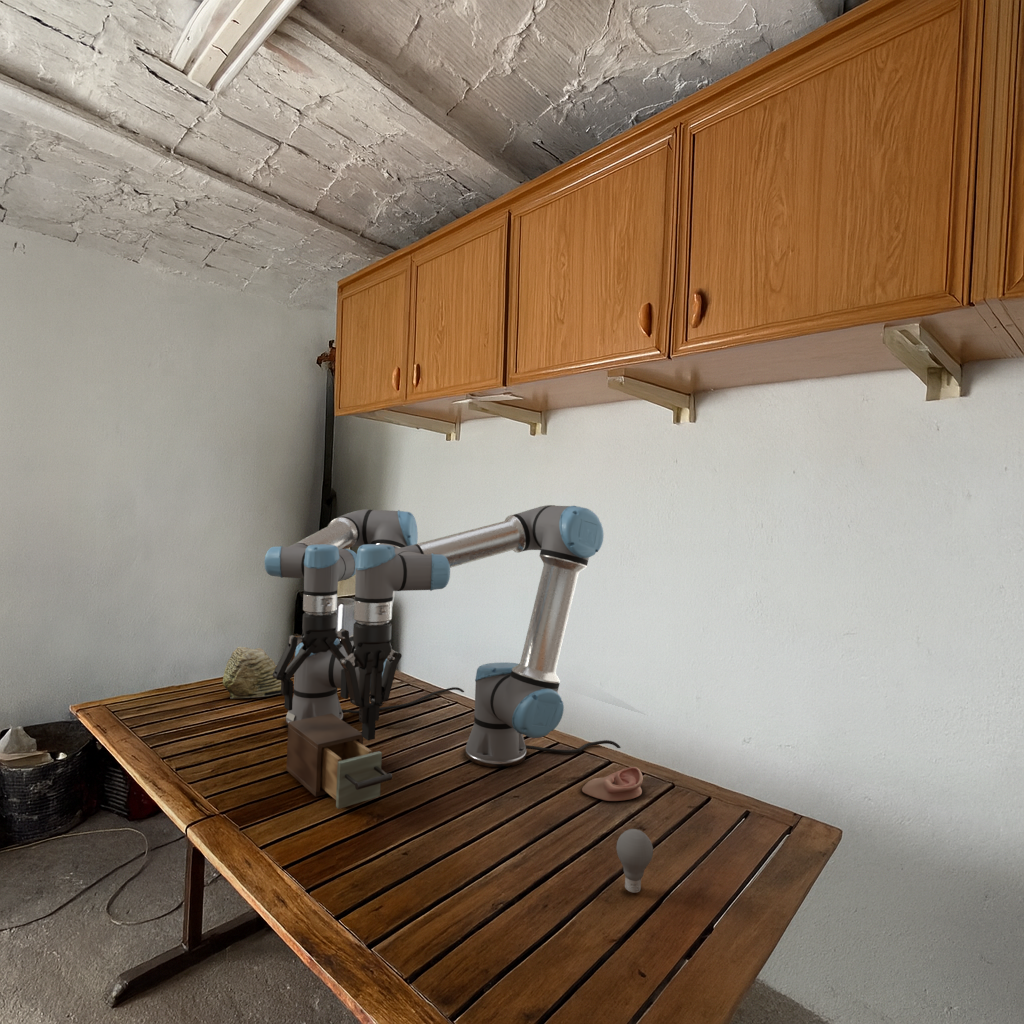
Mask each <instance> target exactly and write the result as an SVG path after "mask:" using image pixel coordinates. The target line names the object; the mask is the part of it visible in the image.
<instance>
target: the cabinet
mask: <svg viewBox="0 0 1024 1024" xmlns="http://www.w3.org/2000/svg"><path fill="white" fill-rule="evenodd" d="M353 740H356V741H358V742H359V743H361V744H362V745H364V737H362V731H360V730H359V729H356V728H355V727H353V726H352V725H350V724H349V723H348V722H346V721H344V720H343V721H342V720H341V719H339V718H338V717H336V716H335V715H333V714H327V715H322V716H317V717H312V718H307V719H302V720H297V721H292V722H288V727H287V743H286V744H287V745H286V747H287V748H286V771H287V773H289V774H290V776H292V777H293V778H294V779H295V780H296V781H298V783H300V785H302V786H303V787H304V788H305V789H307V791H308V792H310V793H311V795H313V796H314V797H316V798H318V797H320V796H325V795H327V794H328V793H327V792H326V791H325V790H323V789H322V788H321V787H320V781H321V756H322V748H323V747H327V746H332V745H336V744H340V743H344V742H348V741H353ZM328 795H329V794H328Z"/></svg>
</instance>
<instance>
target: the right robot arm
mask: <svg viewBox="0 0 1024 1024" xmlns="http://www.w3.org/2000/svg"><path fill="white" fill-rule="evenodd" d="M604 535H605V533H604V527H603V524H602V522H601V521H600V517H599V516H598V515H597V514H596V512H594V511H593V510H591V509H589V508H587V507H582V506H577V505H554V504H546V505H541V506H537V507H534V508H531V509H528V510H525V511H521V512H518V513H515V514H510V515H508V516H506V517H505V519H504V520H503V521H500V522H496V523H491V524H488V525H484V526H481V527H477V528H473V529H468V530H465V531H461V532H457V533H453V534H449V535H446V536H441V537H438V538H433V539H429V540H426V541H422V542H419V543H418V542H417V544H415V545H410V546H406V547H402V548H398V547H393V546H391V545H382V544H380V545H379V544H366V545H362V546H358V548H357V551H356V554H357V557H356V566H355V569H356V574H355V575H354V576H355V583H354V584H355V585H354V587H355V588H354V606H353V610H354V611H353V619H354V623H353V629H352V635H353V642H354V645H353V648H352V649H351V654H350V655H349V656H347V657H346V658H341V659H340V664H341V665H342V667H343V668H344V671H345V677H346V682H347V687H348V692H349V701H350V703H351V704H352V705H354V706H356V707H358V710H359V713H358V721H359V723H361V733H362V737H363V739H365V740H367V741H371V740H372V741H373V740H375V739H376V722H377V721H379V719H380V711H379V708H382V706H383V702H388V701H389V699H390V695H391V690H392V687H393V683H394V678H395V675H396V671H397V666H398V664H399V662H400V661H401V660H402V656H403V655H402V653H401V652H398V651H395V650H394V649H393V648H392V647H393V646H392V645H391V640H392V626H393V623H391V621H392V619H393V606H392V600H393V591H395V592H402V591H403V592H404V591H405V592H408V591H430V592H432V591H434V590H442V589H445V588H446V587H447V585H448V584H449V582H450V579H451V568H455V567H458V566H462V565H465V564H469V563H472V562H476V561H479V560H482V559H487V558H490V557H494V556H497V555H500V554H504V553H507V552H511V551H513V552H514V553H518V554H519V553H523V552H527V551H539V558H540V560H541V562H542V563H543V566H542V571H541V575H540V578H539V583H538V587H537V591H536V595H535V599H534V602H533V603H534V604H533V607H532V611H531V612H532V613H531V615H530V620H529V624H528V629H527V633H526V637H525V640H524V641H525V642H524V645H523V650H522V654H521V656H520V657H521V658H520V662H519V663H516V662H489V663H483V664H481V665H479V666H478V667H477V669H476V672H475V679H474V681H475V689H474V691H475V692H474V693H475V694H474V714H473V716H474V717H473V720H474V721H473V726H472V728H471V731H470V734H469V736H468V739H467V742H466V745H465V757H466V759H468V760H469V761H470V762H471V763H473V764H476V765H480V766H482V767H487V768H508V767H513V766H516V765H519V764H520V763H523V762H524V761H525V759H526V758H527V750H533V751H540V752H547V753H554V754H565V755H567V754H568V755H569V754H577V753H580V752H582V751H583V750H585V749H586V748H588V747H592V746H597V745H598V746H599V745H606V744H607V745H611V746H614V747H615V748H616V749H621V748H622V746H621V745H619V744H618V743H617V742H616V741H613V740H608V739H604V740H596V741H591V742H587V743H584V744H583V745H582V746H580V747H578V748H575V749H557V748H548V747H541V746H535V745H528V744H526V743H525V742H526V741H525V738H524V736H526V737H528V738H532V739H541V738H543V737H546V736H547V735H549V734H550V733H551V732H553V731H554V730H556V728H557V727H558V725H559V724H560V722H561V721H562V718H563V716H564V710H565V709H564V708H565V705H564V701H563V700H562V696H561V695H560V693H558V692H559V687H560V683H561V679H560V678H559V676H558V674H557V668H558V664H559V659H560V655H561V650H562V647H563V642H564V639H565V634H566V629H567V625H568V622H569V618H570V617H569V616H570V611H571V608H572V603H573V600H574V595H575V592H576V587H577V582H578V578H579V574H580V573H581V572H582V571H583V570H585V569H587V568H588V563H589V559H590V558H592V557H594V556H595V555H596V553H599V551H600V550H601V548H602V546H603V542H604ZM386 659H387V661H386V664H385V668H384V662H385V660H386ZM354 660H356V662H357V663H358V665H359V672H360V674H359V687H358V682H357V676H356V671H355V668H354V666H355V662H354ZM383 670H384V672H383ZM382 672H383V676H382ZM370 680H371V684H370Z"/></svg>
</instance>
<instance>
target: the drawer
mask: <svg viewBox="0 0 1024 1024" xmlns="http://www.w3.org/2000/svg"><path fill="white" fill-rule="evenodd" d="M382 753H383V752H381V751H380V750H378V751H374V752H373V751H372V750H371V749H370V748H368V747H367V746H365V745H364V744H363V745H362V744H361V743H359V742H358V741H356V740H353V741H348V742H344V743H340V744H336V745H332V746H327V747H323V748H322V756H321V781H320V787H321V788H322V789H323V790H325V791H326V792H327V793H328V795H329V796H330V797H332V799H334V800H335V808H336V809H337V810H340V809H343V808H346V807H350V806H353V805H356V804H359V803H363V802H366V801H370V800H372V799H373V800H374V799H376V798H379V797H381V784H382V783H386V782H388V781H391V780H393V774H392V773H391V772H389V773H387V772H386V771H384V770H383V769H382V760H383V759H382V758H383V757H382V756H383V754H382Z"/></svg>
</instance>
